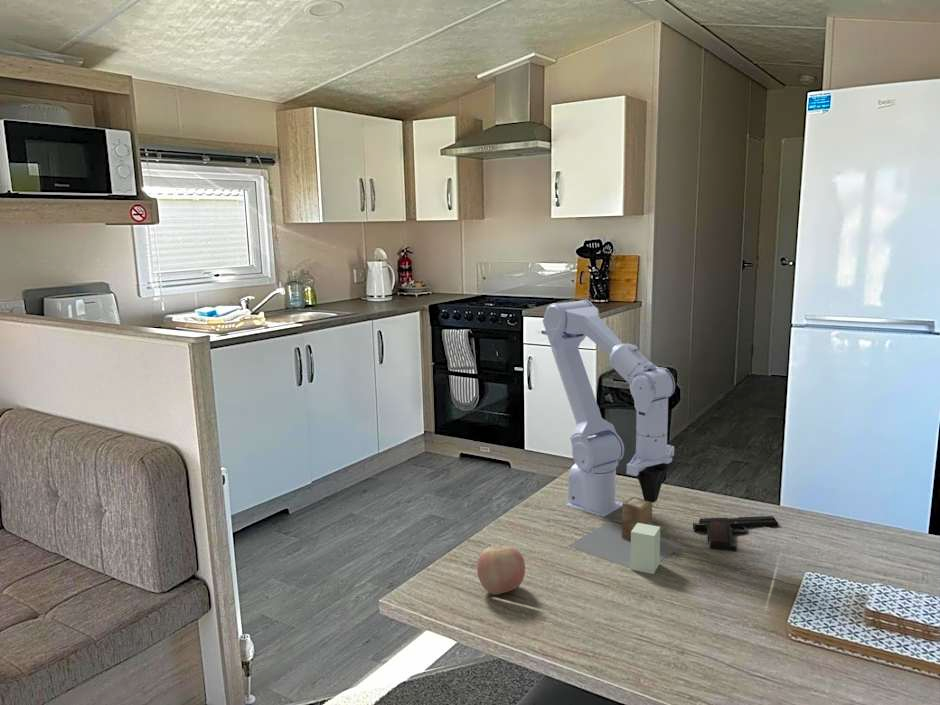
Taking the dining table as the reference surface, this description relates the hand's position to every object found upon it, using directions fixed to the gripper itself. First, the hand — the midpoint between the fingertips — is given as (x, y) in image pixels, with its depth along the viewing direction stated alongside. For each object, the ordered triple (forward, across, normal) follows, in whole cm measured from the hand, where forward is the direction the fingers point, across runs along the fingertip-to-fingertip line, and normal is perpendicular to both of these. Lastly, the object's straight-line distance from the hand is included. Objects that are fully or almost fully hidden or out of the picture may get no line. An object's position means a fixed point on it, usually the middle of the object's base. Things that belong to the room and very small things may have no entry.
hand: (650, 500), depth 139 cm
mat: (+6, -9, 0) cm, 11 cm away
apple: (+7, -36, +7) cm, 37 cm away
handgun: (+7, +9, -15) cm, 19 cm away
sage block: (+6, -14, -7) cm, 17 cm away
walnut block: (+6, -5, 0) cm, 8 cm away
